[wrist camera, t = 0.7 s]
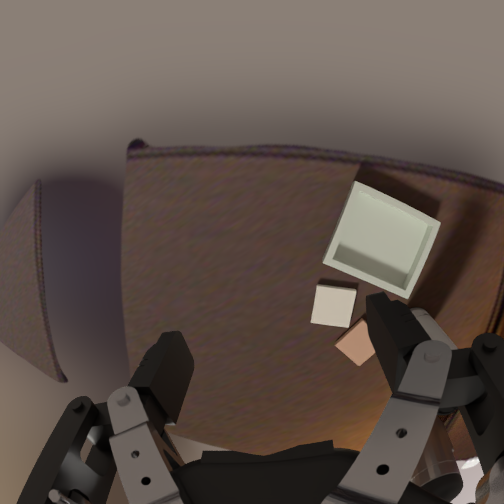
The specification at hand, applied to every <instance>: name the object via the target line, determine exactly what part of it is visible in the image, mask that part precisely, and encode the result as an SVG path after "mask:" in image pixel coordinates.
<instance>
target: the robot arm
mask: <svg viewBox="0 0 504 504" xmlns="http://www.w3.org/2000/svg"><path fill="white" fill-rule="evenodd" d="M366 312H367V329H368V335H369V338H370V341H371V343H372V345H373V348H374V350H375V352H376V355H377V357H378V359H379V362H380V364H381V366H382V369H383V371H384V374H385V376H386V378H387V381H388V383H389V386H390V388H391V391H392V393H393V394H392V395H391V397H390V399H389V401H388V403H387V405H386V407H385V409H384V411H383V413H382V415H381V417H380V419H379V421H378V422H377V424H376V426H375V428H374V430H373V431H372V433H371V435H370V437H369V439H368V440H367V442H366V444H365V445H364V447H363V449H362V450H361V452H359V451H356V450H351V449H345V448H334V447H333V440H328V441H323V442H317V443H311V444H304V445H298V446H296V447H293V448H290V449H287V450H283V451H280V452H277V453H274V454H270V455H266V456H261V455H254V454H248V453H242V452H237V451H203V453H202V457H201V459H199V460H195V461H192V462H189V463H187V464H185V463H184V461H183V460H182V458H181V457H180V455H179V453H178V451H177V449H176V447H175V446H174V444H173V442H172V440H171V438H170V436H169V434H168V433H167V431H166V430H165V429H164V426H165V425H176V422H177V419H178V416H179V413H180V410H181V407H182V404H183V401H184V398H185V395H186V392H187V389H188V386H189V383H190V380H191V377H192V374H193V371H194V360H193V357H192V355H191V353H190V350H189V348H188V346H187V344H186V342H185V340H184V337H183V335H182V333H181V332H180V331H172V332H164V333H162V334H161V336H160V338H159V340H158V341H157V343H156V344H154V345H153V346H152V347H151V348H150V349H149V350H148V351H147V352H146V354H145V355H144V357H143V359H142V360H143V361H141V362H140V364H139V367H138V368H137V370H136V371H135V373H134V375H133V377H132V379H131V380H130V382H129V384H128V386H127V387H122V388H119V389H118V390H116V391H114V392H113V393H112V394H111V395H110V397H109V398H108V401H107V402H104V403H99V404H94V403H93V402H92V401H91V399H90V398H89V397H87V396H81V397H77V398H75V399H74V400H72V401H71V402H70V403H69V404H68V406H67V408H66V409H65V411H64V413H63V415H62V416H61V418H60V420H59V421H58V423H57V425H56V427H55V429H54V430H53V432H52V434H51V436H50V437H49V439H48V441H47V443H46V445H45V447H44V448H43V450H42V452H41V454H40V456H39V458H38V460H37V462H36V464H35V466H34V468H33V470H32V472H31V474H30V476H29V478H28V480H27V482H26V484H25V486H24V488H23V490H22V493H21V495H20V497H19V499H18V502H17V504H106V501H107V498H108V495H109V492H110V489H111V486H112V483H113V480H114V477H115V474H116V471H117V469H118V472H119V475H120V479H121V482H122V484H123V487H124V490H125V493H126V495H127V498H128V501H129V503H130V504H452V503H450V502H451V501H452V500H453V499H454V498H455V497H456V496H457V495H458V494H459V493H460V492H461V490H462V488H463V481H462V478H461V475H460V472H459V469H458V466H457V463H456V460H455V457H454V455H453V451H454V448H453V446H452V443H451V441H450V438H449V435H448V433H447V431H446V428H445V426H444V423H443V421H442V420H440V419H439V416H438V415H437V412H438V409H439V408H447V407H455V406H458V408H459V410H460V413H461V415H462V417H463V420H464V422H465V424H466V427H467V429H468V432H469V434H470V437H471V439H472V442H473V444H474V447H475V450H476V452H477V455H478V458H479V461H480V464H481V466H482V470H483V473H484V476H483V477H482V478H481V480H480V481H479V483H478V485H477V487H476V492H475V497H476V502H475V503H468V504H504V339H503V338H501V337H500V336H498V335H496V334H493V333H484V334H481V335H479V336H477V337H476V338H475V339H474V341H473V343H472V347H471V348H464V349H455V350H451V349H450V347H449V346H448V345H447V344H446V343H444V342H442V341H438V340H432V339H431V338H430V336H429V335H428V334H427V332H426V331H425V329H424V328H423V327H422V325H421V324H420V322H419V321H418V320H417V319H416V317H415V316H414V314H412V311H411V310H410V309H409V307H408V306H407V305H406V304H404V303H402V302H401V301H399V300H395V301H390V299H389V298H388V296H387V295H386V294H385V292H384V291H382V292H378V293H375V294H371V295H367V296H366ZM86 438H87V439H88V440H89V441H90V442H91V443H92V444H93V446H92V448H91V451H90V453H89V455H88V457H87V460H86V462H85V463H84V462H83V461H82V460H81V457H80V451H81V449H82V447H83V444H84V442H85V440H86Z"/></svg>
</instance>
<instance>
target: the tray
mask: <svg viewBox="0 0 504 504" xmlns="http://www.w3.org/2000/svg"><path fill="white" fill-rule="evenodd" d="M440 224H441V223H440V222H439V221H437V220H435V219H433V218H431V217H429V216H428V215H426V214H424V213H422V212H420V211H418V210H416V209H414V208H412V207H410V206H408V205H406V204H404V203H402V202H400V201H398V200H396V199H394V198H392V197H390V196H388V195H386V194H384V193H381V192H379V191H377V190H375V189H373V188H371V187H368V186H366V185H364V184H362V183H359V182H357V181H354V182H353V183H352V186H351V188H350V191H349V194H348V196H347V199H346V202H345V204H344V207H343V209H342V212H341V214H340V217H339V220H338V222H337V225H336V227H335V230H334V232H333V234H332V237H331V239H330V242H329V244H328V247H327V249H326V251H325V254H324V256H323V258H322V259H323V263H324V264H327V265H329V266H331V267H334V268H336V269H339V270H341V271H343V272H346V273H348V274H350V275H353V276H355V277H357V278H360V279H362V280H365V281H367V282H369V283H372V284H374V285H376V286H379V287H381V288H383V289H385V290H388V291H390V292H392V293H395V294H397V295H399V296H402V297H404V298H406V299H408V298H409V296H410V294H411V292H412V290H413V288H414V285H415V283H416V281H417V279H418V277H419V275H420V273H421V270H422V268H423V266H424V264H425V261H426V259H427V257H428V254H429V252H430V249H431V247H432V245H433V242H434V239H435V237H436V234H437V232H438V229H439V226H440Z"/></svg>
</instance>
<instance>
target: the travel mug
mask: <svg viewBox="0 0 504 504" xmlns="http://www.w3.org/2000/svg"><path fill="white" fill-rule="evenodd" d="M410 310H411V311H412V314H414V316H415V317H416V319H417V320H418V321H419V322H420V324H421V325H422V327H423V328H424V329H425V331H426V332H427V334H428V335H429V336H430V338H431V339H432V340H438V341H442V342H444V343H446V344H447V345H448V346H449V347H450V349H451V350H455V349H458V348H457V347H456V346H455V345H454V343H453V342H452V341H451V340H450V338H449V337H448V336H447V335H446V334H445V332H444V331H443V330H442V329H441V328H440V326H439V325H438V324H437V323H436V322H435V321H434V319H433V318H432V317H431V316H430V315H429V314H428V312H427V311H425V310H424V309H422V308H411V309H410ZM457 409H459V408H458V406H455V407H447V408H439V409H438V412H437V415H448V414H451V413H453V412H455V411H454V410H457Z"/></svg>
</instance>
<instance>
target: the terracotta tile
mask: <svg viewBox="0 0 504 504" xmlns="http://www.w3.org/2000/svg"><path fill="white" fill-rule="evenodd" d="M335 346H336V347H337V348H338V349H340V350H341V351H342V352H343V353H344V354H345V355H347V356H348V357H349V358H350V359H351V360H352V361H354V362H355V363H356V364H357V365H358V366H360V365H361V364H362V363H364V362H365V361H366V360H367V359H368V358H369V357H371V356H372V355H373V354H374V353H375V350H374V348H373V345H372V343H371V341H370V338H369V335H368V329H367V322H366V321H365V320H364V319H363V318H361V319H360V320H359V321H358V322H357V323H356V324H355V325H354V326H353V327H352V328H350V329H349V330H348V331H347V332H346V333H345V334H344V335H343V336H342V337H341V338H339V339H338V340H337V341H336V342H335Z"/></svg>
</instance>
